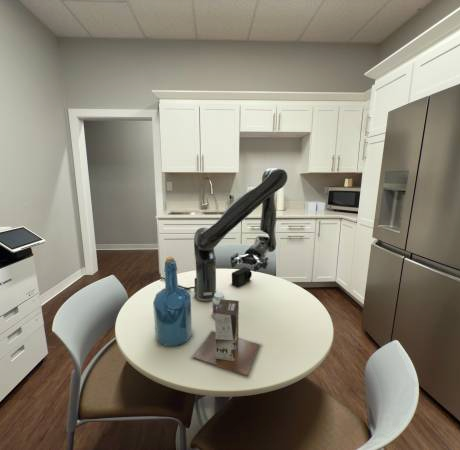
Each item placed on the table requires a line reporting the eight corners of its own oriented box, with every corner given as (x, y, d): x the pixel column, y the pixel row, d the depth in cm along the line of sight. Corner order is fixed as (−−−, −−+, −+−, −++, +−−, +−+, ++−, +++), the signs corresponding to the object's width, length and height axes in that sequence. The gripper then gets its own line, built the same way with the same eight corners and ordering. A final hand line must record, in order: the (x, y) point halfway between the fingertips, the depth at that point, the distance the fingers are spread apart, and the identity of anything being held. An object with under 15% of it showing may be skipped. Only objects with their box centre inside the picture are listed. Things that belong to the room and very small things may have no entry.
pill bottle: (212, 312, 105) (212, 291, 103) (225, 311, 106) (224, 290, 104) (213, 319, 100) (212, 298, 98) (226, 319, 101) (226, 297, 98)
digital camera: (239, 288, 126) (239, 275, 125) (231, 285, 130) (231, 272, 129) (251, 281, 134) (252, 269, 132) (244, 278, 137) (244, 266, 136)
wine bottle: (153, 328, 95) (148, 254, 88) (187, 321, 99) (184, 249, 93) (158, 352, 82) (152, 267, 76) (197, 342, 87) (194, 262, 80)
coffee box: (235, 362, 78) (235, 315, 74) (215, 358, 79) (214, 313, 75) (239, 342, 86) (239, 300, 83) (221, 340, 88) (220, 298, 84)
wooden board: (193, 358, 80) (193, 356, 80) (212, 332, 92) (212, 331, 92) (247, 376, 73) (247, 374, 73) (259, 345, 85) (259, 344, 85)
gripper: (240, 243, 108) (226, 254, 94) (272, 247, 103) (263, 260, 88) (239, 259, 110) (225, 273, 95) (271, 264, 104) (262, 279, 90)
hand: (243, 267), depth 92 cm, fingers open, 8 cm apart
